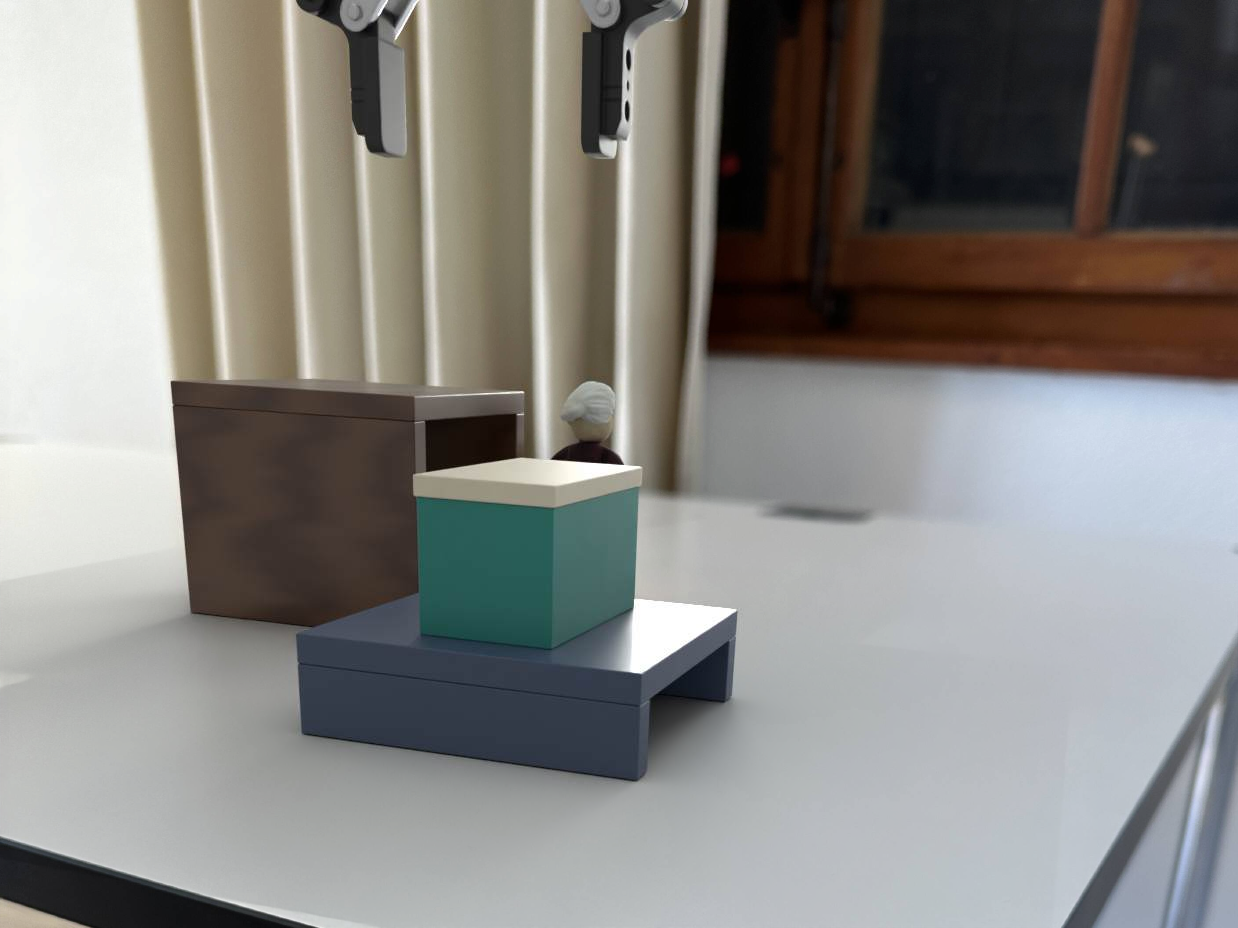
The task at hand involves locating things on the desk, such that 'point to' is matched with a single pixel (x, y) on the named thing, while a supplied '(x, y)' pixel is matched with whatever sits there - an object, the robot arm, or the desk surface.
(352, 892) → the desk surface
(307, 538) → the high shelf
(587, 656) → the low shelf
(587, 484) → the box
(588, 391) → the grandmother figurine
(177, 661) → the desk surface
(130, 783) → the desk surface
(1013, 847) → the desk surface
